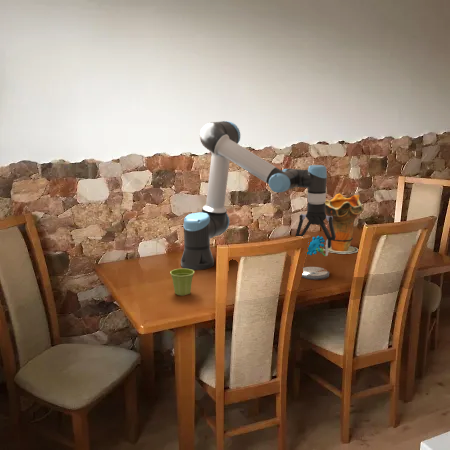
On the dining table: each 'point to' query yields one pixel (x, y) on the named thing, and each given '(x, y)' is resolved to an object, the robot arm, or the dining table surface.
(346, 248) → the decorative vase
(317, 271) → the plate
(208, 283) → the dining table surface
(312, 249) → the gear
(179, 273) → the plant pot
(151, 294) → the dining table surface
